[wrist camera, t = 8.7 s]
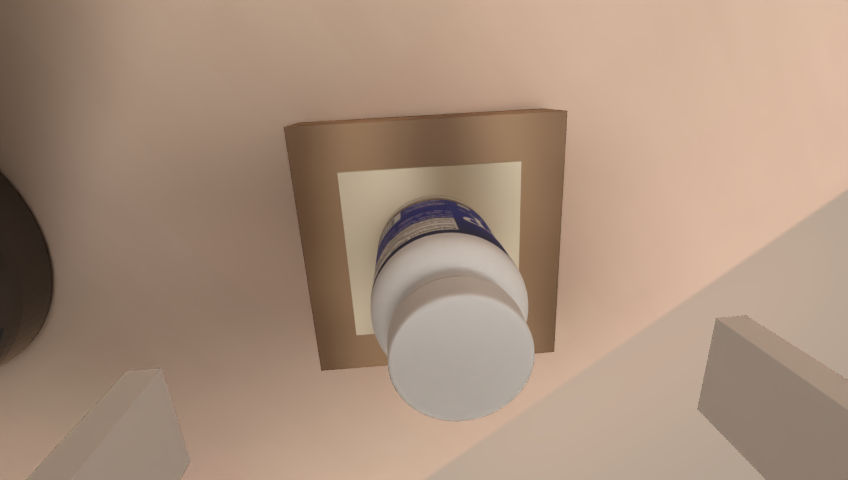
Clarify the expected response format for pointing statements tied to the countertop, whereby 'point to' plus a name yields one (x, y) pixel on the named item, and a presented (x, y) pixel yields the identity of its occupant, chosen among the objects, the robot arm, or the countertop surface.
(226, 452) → the countertop surface
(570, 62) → the countertop surface
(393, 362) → the pill bottle
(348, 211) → the stand
